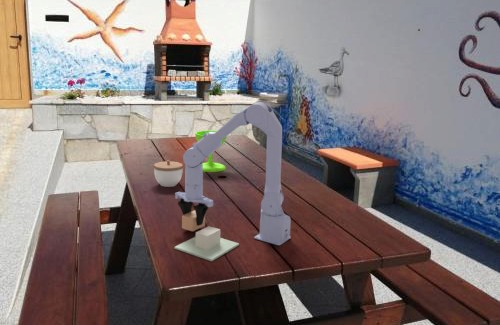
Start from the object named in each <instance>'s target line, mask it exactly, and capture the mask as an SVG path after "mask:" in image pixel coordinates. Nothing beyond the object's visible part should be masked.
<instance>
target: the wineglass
mask: <svg viewBox="0 0 500 325" xmlns="http://www.w3.org/2000/svg"><path fill="white" fill-rule="evenodd" d="M217 131H218V130H200V131H196V132H195V139H196V141H197V142H198V141H199V140H201V139H202V138H203V135H204V134H205V133H209V132H217ZM227 138H228V135H227V136H226V137H225V138H224V139H222V145H224V143H225V142H226V139H227ZM213 153H214V152H213ZM213 153H212V154H211V155H209V156H208V161H207V162H203V173H205V172H207V173H216V172H222V171H225V170H226V169H227V168H226V167H227V166H225V165H224V164H222V163H219V162H214V161H213Z"/></svg>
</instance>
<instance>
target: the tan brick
mask: <svg viewBox="0 0 500 325" xmlns="http://www.w3.org/2000/svg"><path fill="white" fill-rule="evenodd" d="M205 226H206V215H205V216H204V219H203V223H202V224H201V225H199V226H198V225H197V220H196V211H195V209H194V210H191V212H189V213H187V214H184V215H183V214H182V216H181V229H184V230H187V231H190V232H196V230H197V231H198V230H199V229H202V228H203V227H205Z"/></svg>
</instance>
